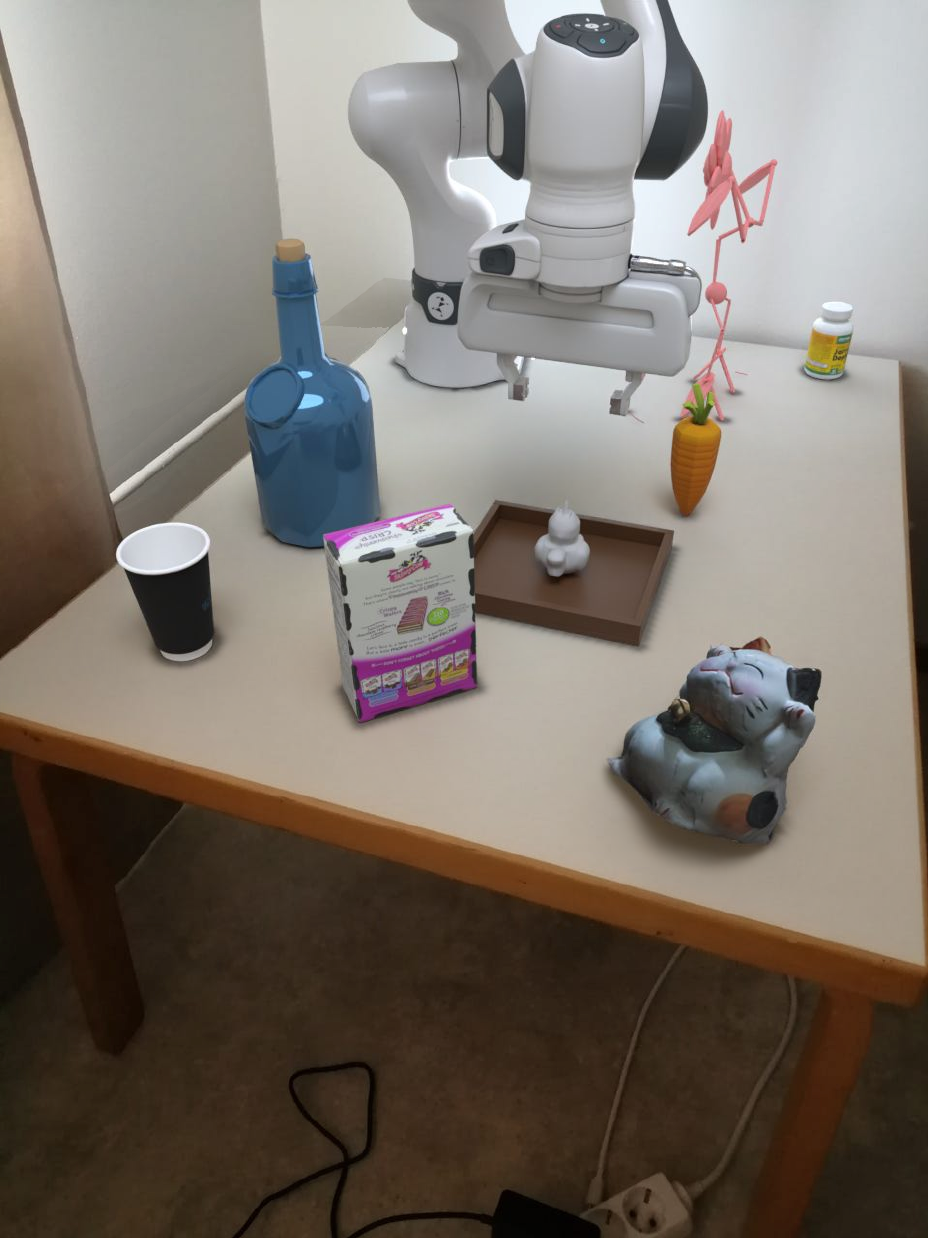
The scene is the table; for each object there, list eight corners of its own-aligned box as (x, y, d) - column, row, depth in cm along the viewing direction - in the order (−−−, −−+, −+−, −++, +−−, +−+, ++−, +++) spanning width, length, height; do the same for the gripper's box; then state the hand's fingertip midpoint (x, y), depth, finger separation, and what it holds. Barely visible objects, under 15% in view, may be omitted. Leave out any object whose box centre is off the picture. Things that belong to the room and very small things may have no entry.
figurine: (749, 370, 139) (798, 96, 118) (718, 449, 120) (770, 139, 99) (644, 355, 144) (672, 89, 123) (598, 429, 125) (622, 129, 103)
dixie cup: (127, 644, 91) (98, 545, 84) (201, 608, 95) (180, 512, 88) (170, 684, 86) (144, 583, 80) (246, 645, 90) (227, 546, 84)
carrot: (707, 529, 106) (729, 400, 97) (661, 524, 106) (678, 396, 97) (708, 505, 110) (728, 380, 100) (663, 501, 110) (679, 376, 101)
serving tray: (495, 518, 108) (495, 499, 106) (671, 549, 103) (674, 530, 101) (439, 605, 95) (439, 585, 94) (638, 646, 90) (640, 626, 88)
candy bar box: (456, 656, 89) (452, 500, 79) (478, 689, 85) (478, 529, 75) (339, 689, 85) (320, 530, 75) (357, 725, 82) (339, 563, 72)
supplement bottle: (815, 362, 141) (830, 296, 135) (849, 372, 138) (866, 305, 132) (796, 372, 138) (810, 306, 132) (830, 383, 135) (846, 315, 129)
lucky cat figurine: (588, 742, 80) (656, 588, 76) (713, 776, 83) (784, 629, 79) (653, 844, 66) (740, 662, 62) (800, 879, 69) (891, 708, 65)
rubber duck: (594, 559, 100) (599, 491, 95) (578, 594, 95) (583, 525, 90) (543, 550, 102) (546, 482, 97) (525, 584, 97) (527, 515, 92)
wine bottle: (317, 478, 115) (286, 214, 97) (405, 511, 109) (390, 235, 91) (233, 529, 107) (182, 249, 88) (324, 568, 100) (289, 275, 82)
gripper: (711, 250, 79) (688, 406, 88) (474, 227, 85) (474, 376, 93) (699, 275, 75) (676, 438, 83) (449, 249, 80) (452, 403, 89)
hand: (567, 405), depth 88 cm, fingers open, 8 cm apart
